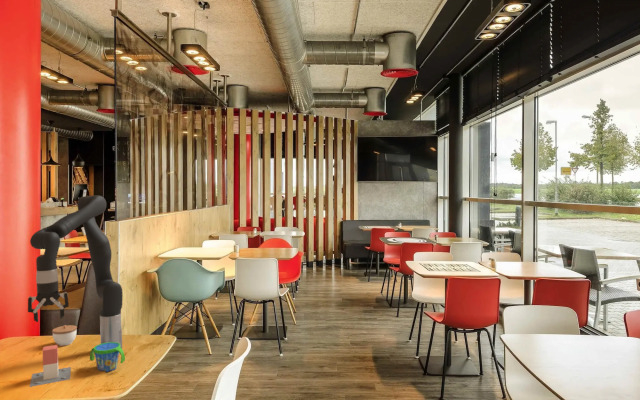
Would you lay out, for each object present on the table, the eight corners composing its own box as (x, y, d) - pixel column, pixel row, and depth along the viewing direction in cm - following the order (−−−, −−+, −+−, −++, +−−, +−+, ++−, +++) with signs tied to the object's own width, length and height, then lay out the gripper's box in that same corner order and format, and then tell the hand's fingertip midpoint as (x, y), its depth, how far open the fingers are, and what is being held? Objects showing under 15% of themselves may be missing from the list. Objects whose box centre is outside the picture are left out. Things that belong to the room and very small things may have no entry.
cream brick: (58, 372, 188) (57, 358, 188) (57, 377, 184) (57, 362, 183) (44, 375, 186) (43, 361, 185) (43, 380, 181) (43, 365, 181)
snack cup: (131, 366, 196) (130, 343, 196) (113, 376, 186) (112, 352, 186) (102, 362, 201) (101, 340, 201) (83, 372, 191) (82, 348, 191)
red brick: (57, 358, 188) (57, 344, 188) (57, 362, 184) (56, 348, 183) (43, 361, 186) (43, 346, 185) (43, 365, 181) (42, 350, 181)
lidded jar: (59, 349, 219) (59, 330, 218) (48, 344, 225) (47, 326, 224) (81, 342, 228) (80, 324, 227) (70, 338, 234) (69, 320, 233)
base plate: (70, 369, 194) (70, 366, 194) (70, 381, 182) (70, 378, 182) (32, 376, 188) (32, 373, 188) (29, 389, 175) (29, 386, 175)
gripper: (67, 276, 190) (69, 314, 190) (27, 281, 183) (29, 320, 183) (67, 280, 183) (69, 319, 184) (25, 284, 176) (27, 325, 177)
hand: (49, 319), depth 184 cm, fingers open, 8 cm apart
